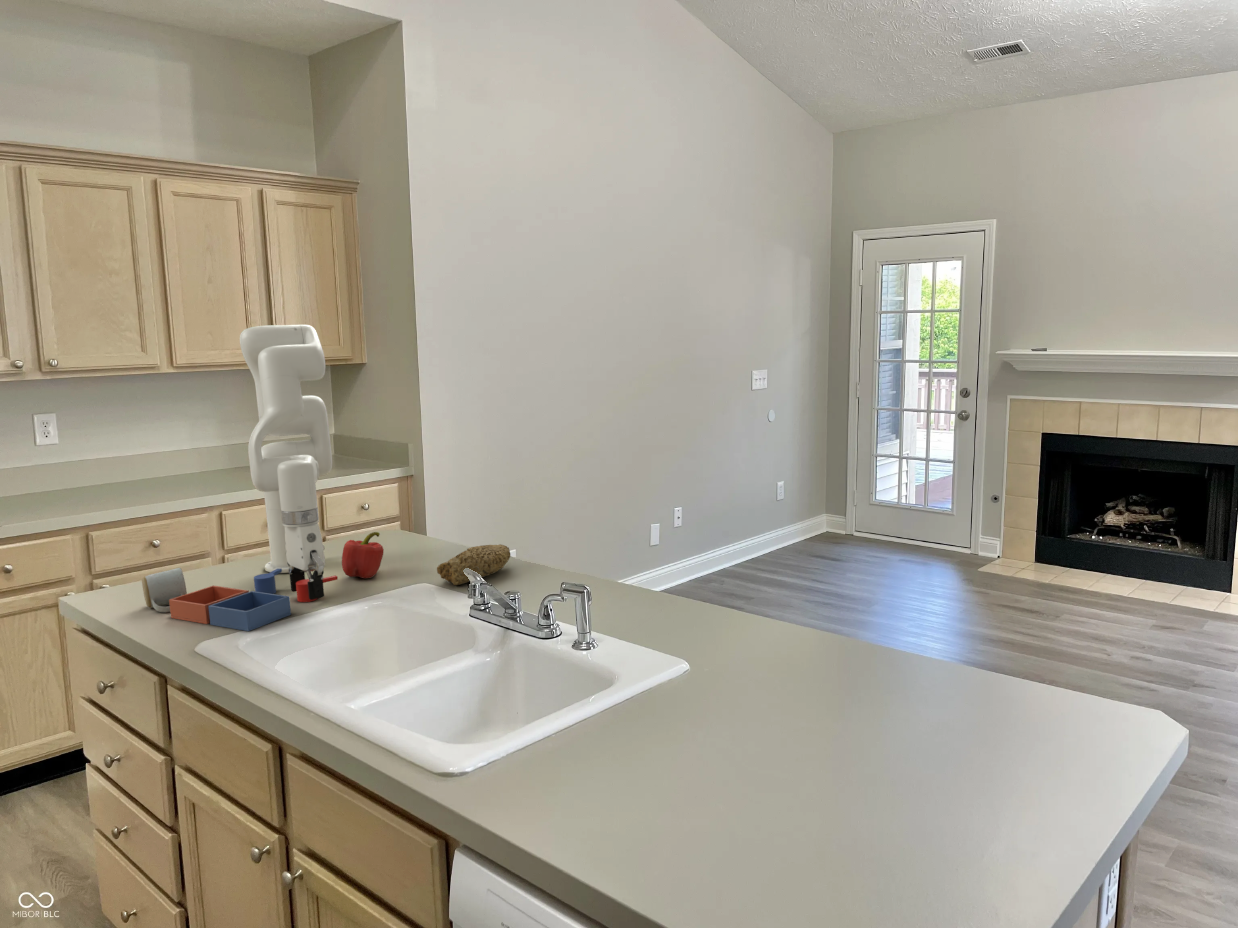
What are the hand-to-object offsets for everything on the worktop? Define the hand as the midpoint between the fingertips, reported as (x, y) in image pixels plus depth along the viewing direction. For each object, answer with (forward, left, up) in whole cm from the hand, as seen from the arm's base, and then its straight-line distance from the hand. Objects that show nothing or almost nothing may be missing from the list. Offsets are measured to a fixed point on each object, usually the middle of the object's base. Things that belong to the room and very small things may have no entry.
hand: (307, 593), depth 200 cm
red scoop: (-2, +1, -1) cm, 3 cm away
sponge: (-29, +25, -1) cm, 38 cm away
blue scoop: (-2, -14, -1) cm, 14 cm away
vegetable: (-19, -1, -1) cm, 19 cm away
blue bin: (+15, -1, -1) cm, 15 cm away
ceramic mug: (+15, -26, -1) cm, 30 cm away
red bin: (+15, -13, -1) cm, 20 cm away
